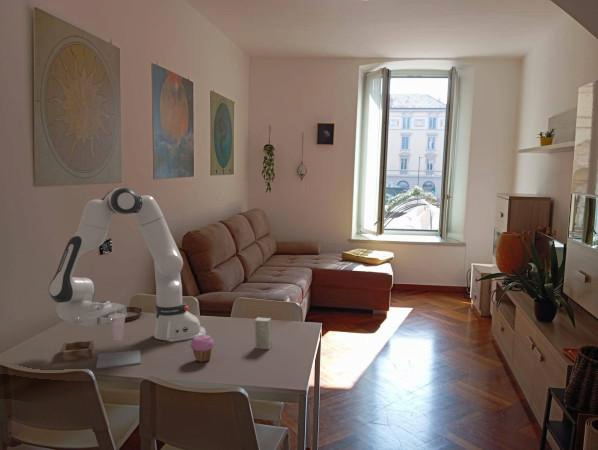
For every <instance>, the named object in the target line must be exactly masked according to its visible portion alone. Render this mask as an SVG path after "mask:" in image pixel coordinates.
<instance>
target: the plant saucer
mask: <svg viewBox="0 0 598 450" xmlns="http://www.w3.org/2000/svg"><path fill="white" fill-rule="evenodd" d="M126 308H127V317H126V318H125V322H130V321H133V319H134V320H137V319H138V318H139V317H141V315H142V314H143V311H144V310H143V308H141V307H138V306H126Z"/></svg>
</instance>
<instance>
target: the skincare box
mask: <svg viewBox="0 0 598 450" xmlns="http://www.w3.org/2000/svg"><path fill="white" fill-rule="evenodd" d="M272 327H273V326H272V317H259V316H258V317H256V318H255V319H254V341H255V342H254V345H255V349H258V350H259V349H260V350H261V349H262V350H270V349H271V347H272V346H273V331H272Z"/></svg>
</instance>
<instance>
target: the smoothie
mask: <svg viewBox="0 0 598 450" xmlns="http://www.w3.org/2000/svg"><path fill="white" fill-rule="evenodd" d="M109 317H110V318H113V322H112V323H109V324H110V325H109V326H110V330H111V334H112V335H111V337H112V340H113V341H114V342H119V341H120V342H121V341H122V340H124V332H125V322H126V321H125V318H126V314H124V313H116V304H115V313H114V314H111V315H109Z"/></svg>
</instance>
